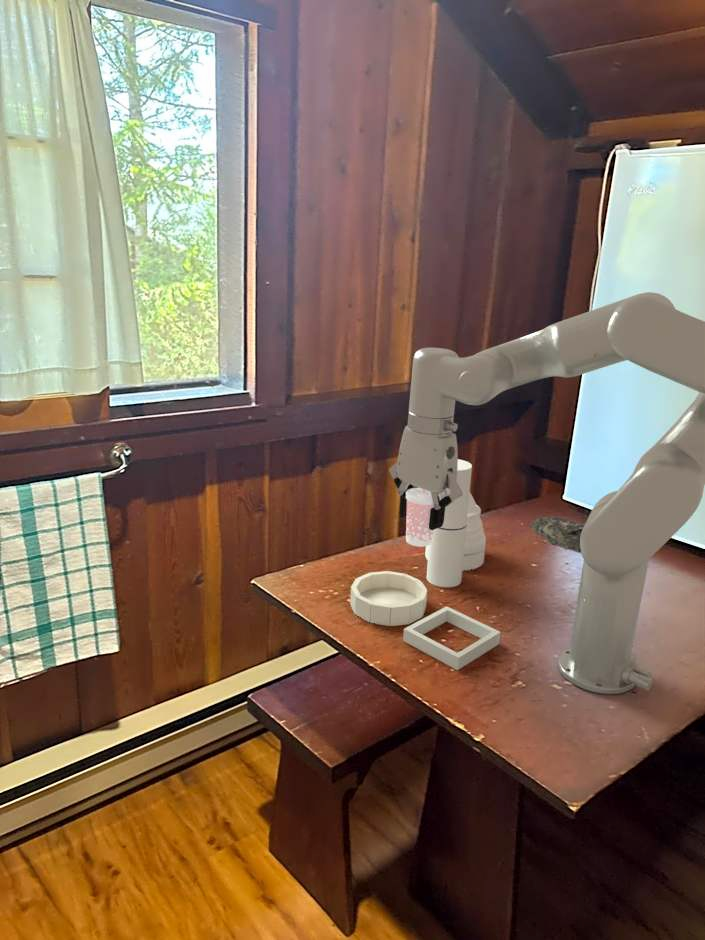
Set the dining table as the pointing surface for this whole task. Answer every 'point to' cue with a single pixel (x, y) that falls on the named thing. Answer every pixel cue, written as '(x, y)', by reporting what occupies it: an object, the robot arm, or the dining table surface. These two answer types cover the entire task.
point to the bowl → (388, 598)
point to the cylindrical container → (451, 536)
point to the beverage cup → (418, 517)
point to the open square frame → (442, 653)
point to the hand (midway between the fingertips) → (420, 520)
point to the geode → (559, 531)
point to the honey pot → (472, 538)
